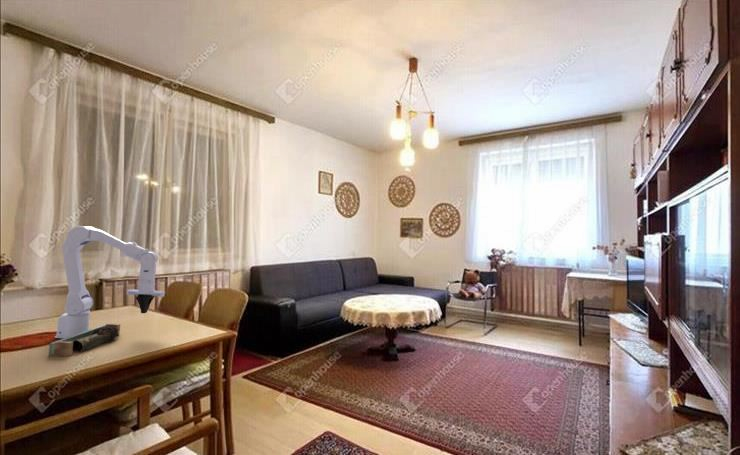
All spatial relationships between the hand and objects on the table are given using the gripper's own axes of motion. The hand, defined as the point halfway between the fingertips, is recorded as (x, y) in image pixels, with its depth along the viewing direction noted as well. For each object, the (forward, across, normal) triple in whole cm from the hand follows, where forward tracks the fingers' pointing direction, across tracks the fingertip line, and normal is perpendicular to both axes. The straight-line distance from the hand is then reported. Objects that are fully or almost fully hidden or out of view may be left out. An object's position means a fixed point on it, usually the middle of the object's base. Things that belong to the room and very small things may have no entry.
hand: (143, 312), depth 151 cm
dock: (+9, -12, -14) cm, 21 cm away
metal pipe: (+10, -9, -14) cm, 20 cm away
